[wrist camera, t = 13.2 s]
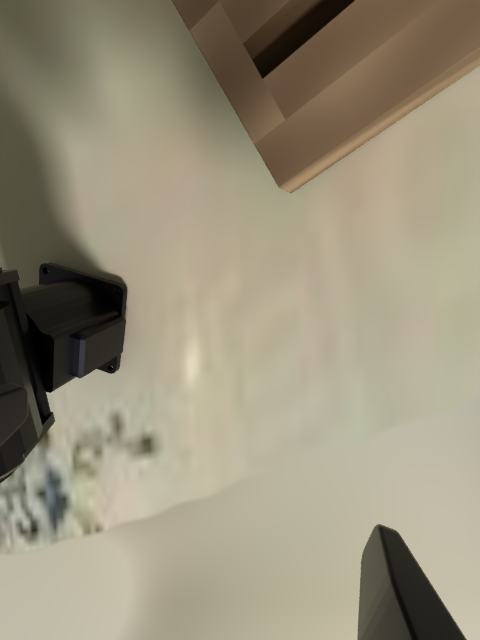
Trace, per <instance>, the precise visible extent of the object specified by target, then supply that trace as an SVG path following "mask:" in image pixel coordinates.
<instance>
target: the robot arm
mask: <svg viewBox="0 0 480 640" xmlns="http://www.w3.org/2000/svg"><path fill="white" fill-rule="evenodd" d="M47 268H48V270H49V273H48V271H47ZM18 280H19V276H18V272H17V270H2V268H0V483H1V482H3V481H4V480H5V479H6V478H8V477H9V476H10V475H11V474H12V473H13V472H14V471H15V470H16V469H17V468H18V467H20V465H21V464H22V463H23V462H24V460H25V458H26V457H27V456H28V454H29V453H30V452H31V451H32V449H33V448H34V447H35V446H36V444H37V443H38V442H39V441H40V439H41V438H42V437H43V436H44V435H45V433H46V432H47V431H48V430H49V428H50V427H51V426H52V425H53V423H54V422H55V418H54V415H53V412H51V411H50V407H49V403H48V399H47V395H46V392H50V393H51V392H52V391H54V390H56V389H57V388H59V387H61V386H62V385H64V384H65V383H67V382H69V381H70V380H72V379H74V378H75V377H78V378H82V377H84V376H85V375H87V374H89V373H90V372H92V371H93V370H95V369H99V370H102V371H105V372H107V373H111V374H112V373H115V372H116V371H117V370H118V369H119V367H120V358H121V353H122V352H123V343H124V333H125V324H126V320H125V309H126V299H127V289H126V287H125V286H124V285H122V284H120V283H116V282H113V281H109V280H106V279H103V278H99V277H96V276H93V275H89V274H86V273H82V272H79V271H76V270H72V269H69V268H66V267H62V266H59V265H55V264H52V263H44V264H41V266H40V269H39V285H37V286H33V287H29V288H24V289H19V285H18ZM117 289H119V291H120V295H119V294H118V293H117ZM110 364H111V365H112V366H113V368H112V367H111V365H110ZM359 598H360V600H359V617H358V640H466V638H465V637H464V635H463V634H462V632H461V630H460V629H459V627H458V626H457V624H456V622H455V621H454V619H453V618H452V616H451V614H450V613H449V611H448V610H447V608H446V607H445V605H444V604H443V602H442V601H441V599H440V597H439V596H438V594H437V592H436V591H435V589H434V588H433V586H432V585H431V583H430V581H429V580H428V578H427V577H426V575H425V574H424V572H423V570H422V569H421V567H420V566H419V564H418V562H417V561H416V559H415V558H414V556H413V555H412V553H411V551H410V550H409V548H408V547H407V545H406V544H405V542H404V540H403V539H402V537H401V536H400V534H399V533H398V532H397V531H396V530H394V529H391V528H388V527H386V526H383V525H380V524H378V525H376V526H375V527H374V529H373V531H372V533H371V535H370V537H369V540H368V542H367V544H366V546H365V548H364V551H363V555H362V561H361V578H360V597H359Z"/></svg>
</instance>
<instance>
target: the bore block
mask: <svg viewBox="0 0 480 640" xmlns="http://www.w3.org/2000/svg"><path fill="white" fill-rule="evenodd" d="M172 2H173V3H174V5H175V7H176V9H177V10H178V12H179V14H180V16H181V17H182V19H183V21H184V23H185V24H186V26H187V28H188V30H189V31H190V33H191V35H192V37H193V38H194V40H195V42H196V44H197V45H198V47H199V49H200V51H201V52H202V54H203V56H204V58H205V59H206V61H207V63H208V65H209V66H210V68H211V70H212V72H213V73H214V75H215V77H216V79H217V80H218V82H219V84H220V85H221V87H222V89H223V91H224V92H225V94H226V96H227V98H228V99H229V101H230V103H231V105H232V106H233V108H234V110H235V112H236V113H237V115H238V117H239V119H240V120H241V122H242V124H243V126H244V127H245V129H246V131H247V133H248V134H249V136H250V138H251V140H252V141H253V143H254V145H255V147H256V148H257V150H258V152H259V154H260V155H261V157H262V159H263V161H264V162H265V164H266V166H267V168H268V169H269V171H270V173H271V175H272V176H273V178H274V180H275V182H276V183H277V185H278V187H280V188H282V189H284V190H286V191H288V192H290V193H292V192H294V191H295V190H297V189H298V188H300V187H301V186H303V185H304V184H305V183H307V182H308V181H310V180H311V179H313V178H314V177H316V176H317V175H319V174H320V173H322V172H323V171H325V170H326V169H328V168H329V167H330V166H332V165H333V164H335V163H336V162H338V161H339V160H341V159H342V158H344V157H345V156H347V155H348V154H350V153H351V152H353V151H354V150H355V149H357V148H358V147H360V146H361V145H363V144H364V143H366V142H367V141H369V140H370V139H372V138H373V137H375V136H376V135H378V134H379V133H380V132H382V131H383V130H385V129H386V128H388V127H389V126H391V125H392V124H394V123H395V122H397V121H398V120H400V119H401V118H403V117H404V116H405V115H407V114H408V113H410V112H411V111H413V110H414V109H416V108H417V107H419V106H420V105H422V104H423V103H425V102H426V101H428V100H429V99H430V98H432V97H433V96H435V95H436V94H438V93H439V92H441V91H442V90H444V89H445V88H447V87H448V86H450V85H451V84H453V83H454V82H456V81H457V80H458V79H460V78H461V77H463V76H464V75H466V74H467V73H469V72H470V71H472V70H473V69H475V68H476V67H478V66H479V65H480V0H172Z"/></svg>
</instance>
